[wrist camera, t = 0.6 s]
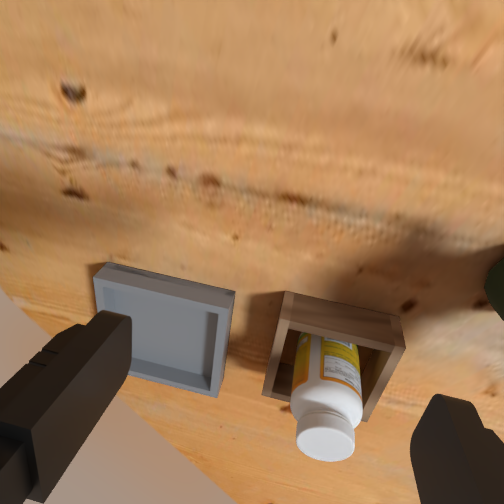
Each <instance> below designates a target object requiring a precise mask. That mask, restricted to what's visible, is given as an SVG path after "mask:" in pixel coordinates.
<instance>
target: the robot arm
mask: <svg viewBox="0 0 504 504" xmlns="http://www.w3.org/2000/svg"><path fill="white" fill-rule="evenodd" d="M131 361H132V319H131V317H130V316H127V315H123V314H119V313H115V312H111V311H107V310H101V311H99V312H98V313H97V314H96V315H95V316H94V317H93V318H92V319H91V320H90V321H89V323H88V324H87V325H86V326H85V325H81V324H76V325H74V326H72V327H70V328H68V329H66V330H64V331H62V332H60V333H58V334H57V335H56V336H55V337H54V338H53V339H51V341H49V342H48V343H47V344H46V345H45V346H44V347H43V348H42V351H41V352H38V353H37V354H36V355H35V356H34V357H33V358H32V359H31V360H29V363H28V364H25V365H24V366H23V367H22V368H21V369H20V370H19V371H18V372H17V373H16V374H15V375H14V376H13V377H12V378H11V379H10V380H8V381H7V382H6V383H5V384H4V385H3V386H2V387H1V388H0V504H23V502H24V501H25V499H26V498H27V499H30V500H33V501H37V502H40V503H44V502H45V501H46V499H47V498H48V496H49V495H50V493H51V492H52V490H53V489H54V487H55V486H56V484H57V483H58V481H59V480H60V478H61V477H62V475H63V473H64V472H65V470H66V469H67V467H68V466H69V464H70V462H71V461H72V460H73V458H74V457H75V455H76V454H77V452H78V450H79V449H80V447H81V446H82V444H83V443H84V442H85V440H86V438H87V437H88V435H89V434H90V433H91V431H92V430H93V428H94V427H95V425H96V423H97V422H98V421H99V419H100V417H101V416H102V414H103V413H104V411H105V410H106V408H107V407H108V405H109V404H110V402H111V401H112V399H113V398H114V396H115V395H116V393H117V392H118V390H119V389H120V387H121V386H122V384H123V383H124V381H125V379H126V377H127V375H128V372H129V369H130V366H131ZM410 457H411V462H412V467H413V471H414V476H415V480H416V484H417V489H418V493H419V497H420V502H421V504H504V443H503V442H502V441H501V440H500V438H499V437H498V436H497V435H496V434H495V433H494V431H493V430H491V429H487V428H484V426H483V424H482V421H481V419H480V417H479V415H478V413H477V411H476V408H475V407H474V405H473V404H472V403H471V402H469V401H466V400H462V399H458V398H454V397H450V396H446V395H442V394H435V395H434V396H433V397H432V399H431V400H430V402H429V404H428V406H427V408H426V410H425V412H424V413H423V415H422V417H421V419H420V421H419V423H418V425H417V426H416V428H415V430H414V432H413V434H412V438H411V443H410Z"/></svg>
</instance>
